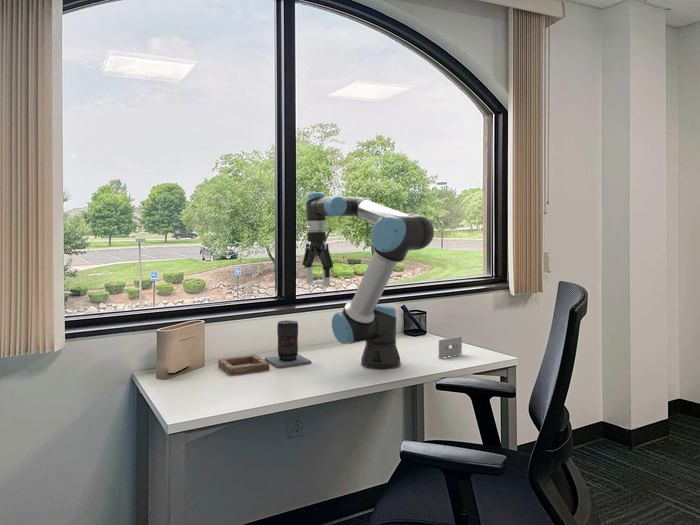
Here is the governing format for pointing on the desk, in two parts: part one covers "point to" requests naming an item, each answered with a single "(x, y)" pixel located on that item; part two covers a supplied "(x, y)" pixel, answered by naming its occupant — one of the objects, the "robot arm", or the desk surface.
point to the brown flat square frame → (256, 367)
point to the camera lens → (287, 340)
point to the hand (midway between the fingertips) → (317, 284)
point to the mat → (281, 364)
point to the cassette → (446, 351)
